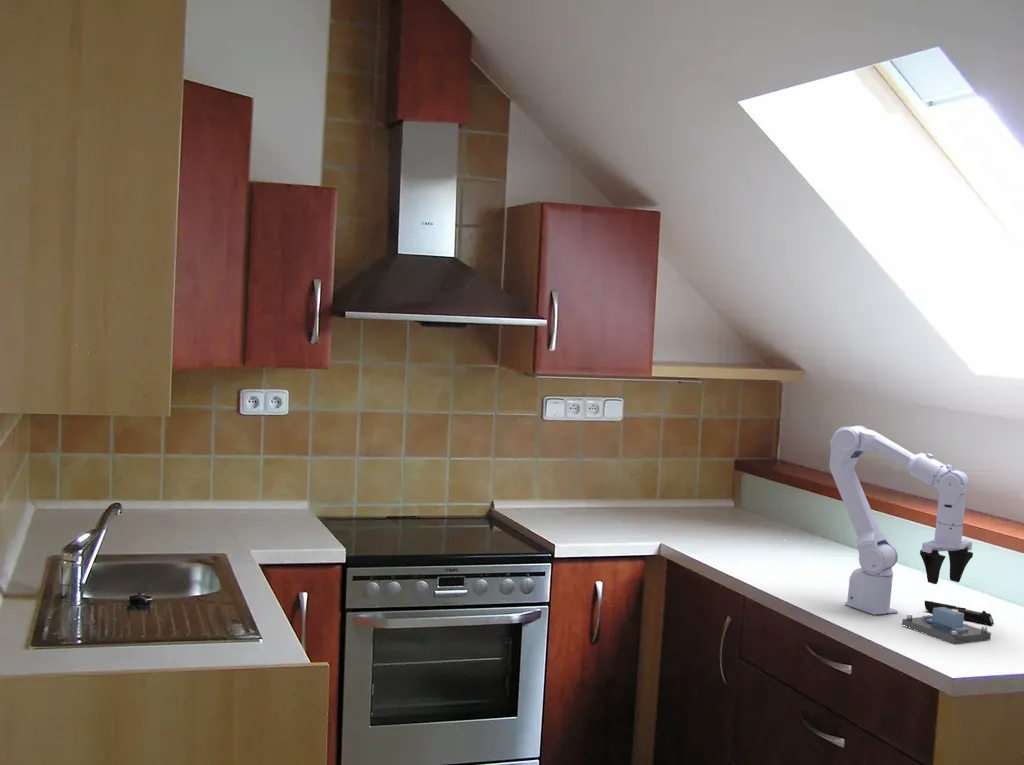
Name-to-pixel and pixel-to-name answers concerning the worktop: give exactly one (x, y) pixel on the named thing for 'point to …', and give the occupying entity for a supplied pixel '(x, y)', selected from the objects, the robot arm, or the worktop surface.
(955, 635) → the plate
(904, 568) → the worktop surface
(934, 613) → the servo
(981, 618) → the electric trimmer
